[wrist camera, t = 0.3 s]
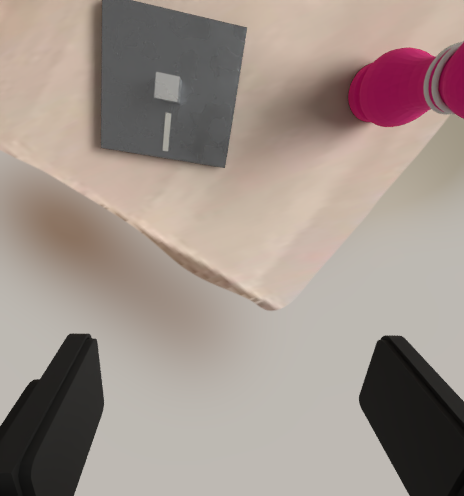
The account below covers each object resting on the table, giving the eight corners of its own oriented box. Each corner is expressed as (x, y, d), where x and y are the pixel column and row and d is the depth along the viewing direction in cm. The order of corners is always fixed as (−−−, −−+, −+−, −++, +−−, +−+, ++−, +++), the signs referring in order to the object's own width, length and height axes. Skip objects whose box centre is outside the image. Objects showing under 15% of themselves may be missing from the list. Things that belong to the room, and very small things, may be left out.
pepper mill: (410, 58, 34) (652, -14, 16) (395, 127, 37) (585, 133, 19) (349, 55, 33) (528, -25, 15) (338, 125, 36) (478, 129, 18)
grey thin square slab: (106, -1, 30) (89, -24, 25) (245, 31, 32) (252, 16, 27) (105, 146, 35) (90, 150, 30) (224, 166, 37) (227, 172, 32)
